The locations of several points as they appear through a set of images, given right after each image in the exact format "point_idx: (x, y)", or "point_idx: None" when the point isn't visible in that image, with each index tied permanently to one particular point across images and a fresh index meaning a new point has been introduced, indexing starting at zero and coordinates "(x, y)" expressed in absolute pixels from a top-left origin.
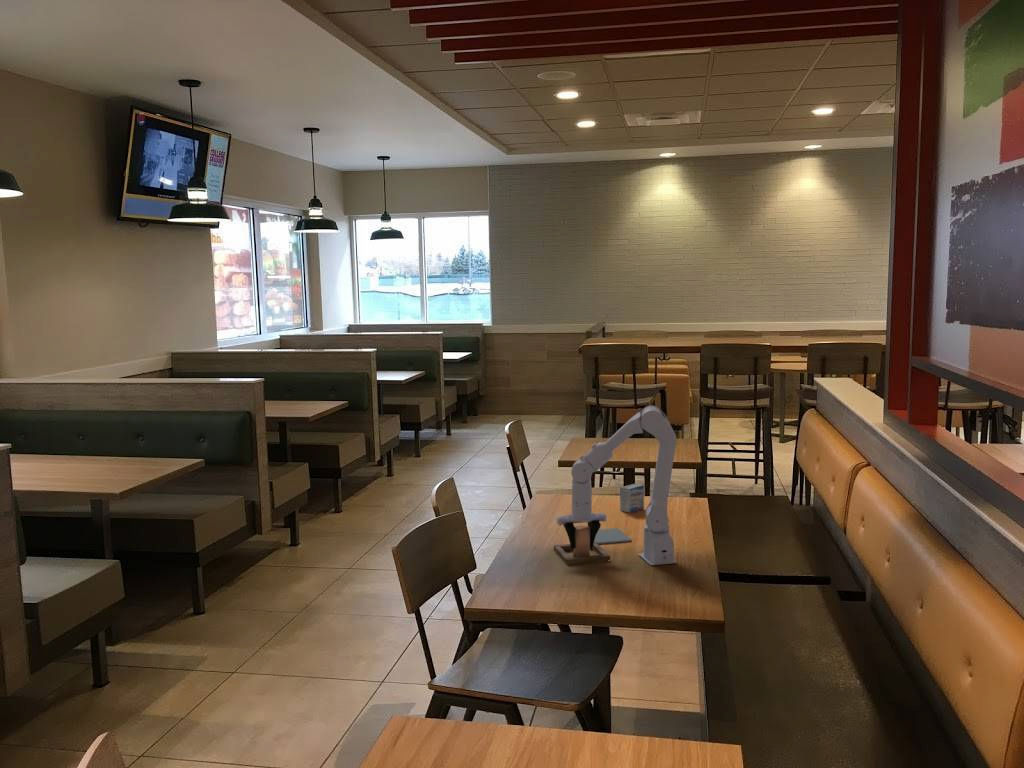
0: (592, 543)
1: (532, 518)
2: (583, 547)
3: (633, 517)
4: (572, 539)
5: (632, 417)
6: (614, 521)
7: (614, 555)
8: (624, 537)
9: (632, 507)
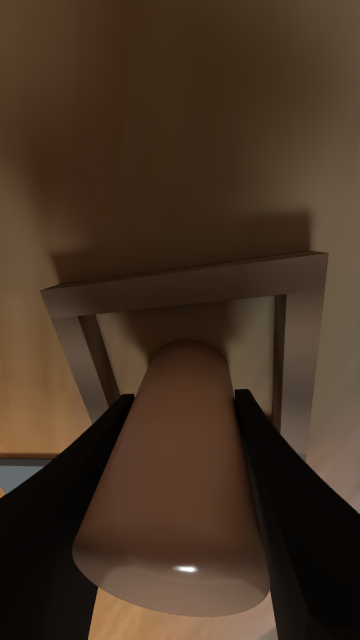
0: (116, 405)
1: (260, 627)
2: (182, 373)
3: None
4: (274, 436)
5: None
6: None
7: (43, 351)
8: (12, 484)
9: None
